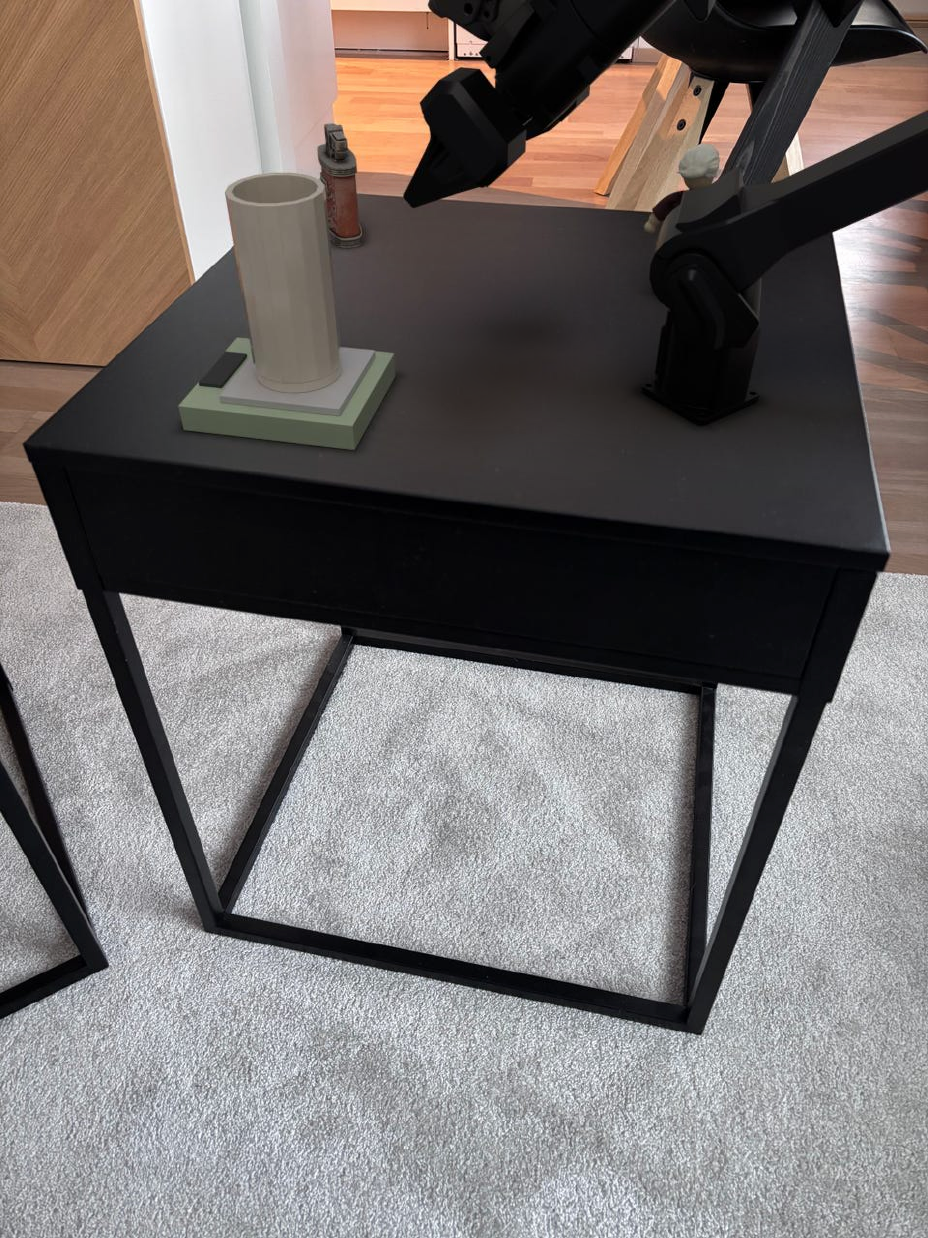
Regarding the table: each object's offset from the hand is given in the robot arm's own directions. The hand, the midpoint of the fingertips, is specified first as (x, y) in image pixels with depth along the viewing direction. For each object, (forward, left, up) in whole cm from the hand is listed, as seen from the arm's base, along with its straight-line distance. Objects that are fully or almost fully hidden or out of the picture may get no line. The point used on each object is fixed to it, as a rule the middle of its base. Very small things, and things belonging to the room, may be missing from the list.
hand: (434, 180), depth 68 cm
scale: (0, +13, -13) cm, 19 cm away
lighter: (+28, -7, -14) cm, 32 cm away
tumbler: (0, +13, -11) cm, 17 cm away
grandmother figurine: (-3, -24, -14) cm, 28 cm away
